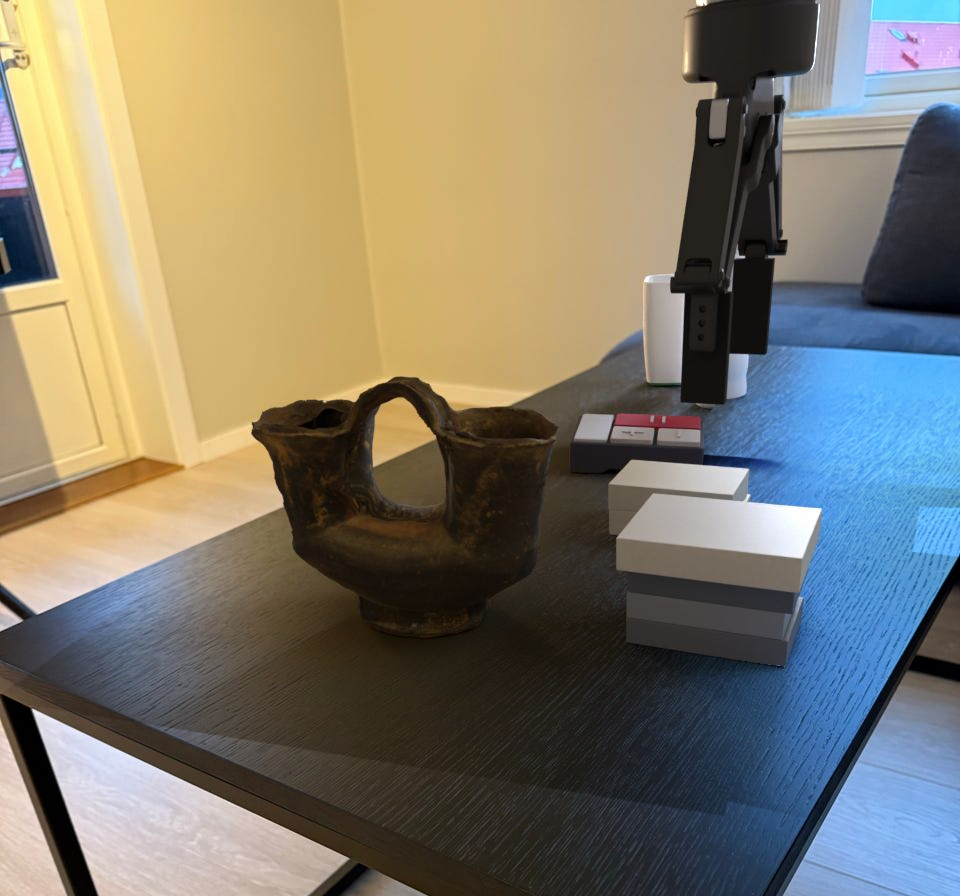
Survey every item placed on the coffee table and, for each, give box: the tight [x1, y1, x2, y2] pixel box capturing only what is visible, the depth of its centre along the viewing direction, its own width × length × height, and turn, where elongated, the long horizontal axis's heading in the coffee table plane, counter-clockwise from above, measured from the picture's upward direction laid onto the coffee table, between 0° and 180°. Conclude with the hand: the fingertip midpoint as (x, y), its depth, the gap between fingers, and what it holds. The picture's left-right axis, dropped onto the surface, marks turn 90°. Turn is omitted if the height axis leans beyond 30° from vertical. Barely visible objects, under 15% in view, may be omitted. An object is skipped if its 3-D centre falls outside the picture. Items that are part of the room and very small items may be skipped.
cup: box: [642, 273, 685, 386], centre depth 136 cm, size 7×7×15 cm
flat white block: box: [615, 493, 823, 593], centre depth 69 cm, size 13×10×3 cm
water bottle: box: [694, 244, 749, 410], centre depth 122 cm, size 7×7×25 cm
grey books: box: [625, 566, 810, 668], centre depth 71 cm, size 12×8×7 cm, turn 65°
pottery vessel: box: [250, 375, 559, 639], centre depth 75 cm, size 25×11×20 cm, turn 71°
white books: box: [607, 460, 751, 536], centre depth 90 cm, size 12×8×5 cm, turn 65°
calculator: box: [568, 413, 705, 474], centre depth 109 cm, size 11×4×15 cm
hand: (727, 376), depth 63 cm, fingers open, 13 cm apart
